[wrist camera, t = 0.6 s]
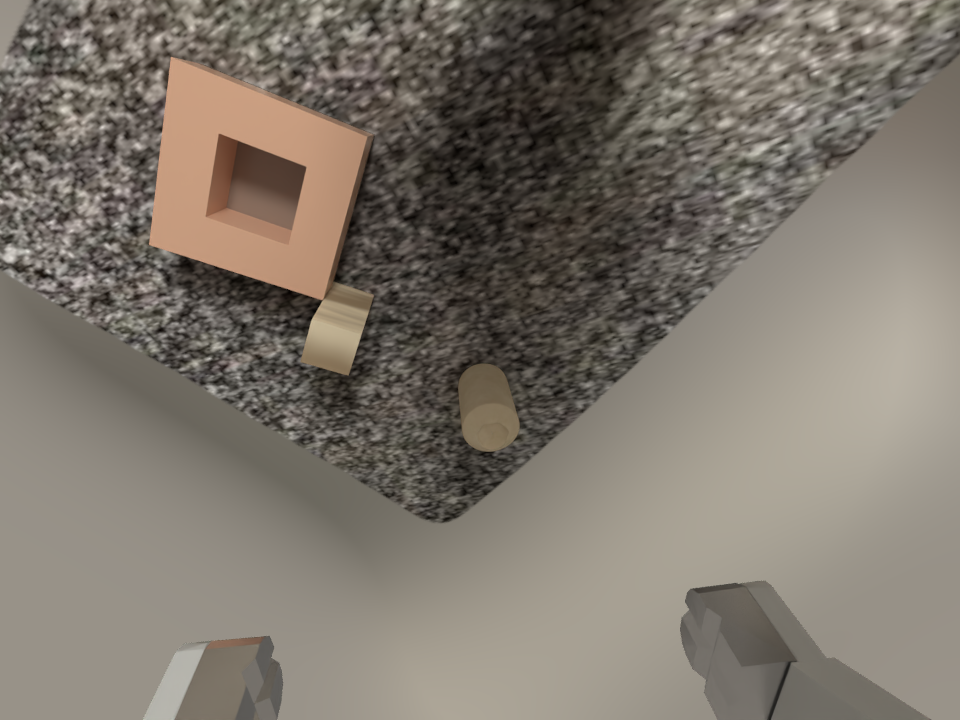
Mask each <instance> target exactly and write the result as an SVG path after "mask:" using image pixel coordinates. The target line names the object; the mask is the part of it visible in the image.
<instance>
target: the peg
mask: <svg viewBox="0 0 960 720" xmlns="http://www.w3.org/2000/svg"><path fill="white" fill-rule="evenodd" d="M373 297H374V295H373V294H370V293H367V292H364V291H361V290H358V289H355V288H352V287H349V286H346V285H343V284H340V283H337V282H334V283H333V284H332V286H331V288H330V289H329V291H328V293H327V294H326V296H325V298H324V300H323V301H322V303H321V305H320V306H319V308H318V310H317V311H316V313H315V315H314V316H313V318H312V321H311V324H310V328H309V332H308V336H307V339H306V343H305V347H304V350H303V354H302V358H301V362H303V363H306V364H310V365H313V366H316V367H320V368H323V369H327V370H330V371H334V372H337V373H341V374H344V375H348V376H349V373H350V369H351V366H352V363H353V360H354V357H355V354H356V351H357V348H358V344H359V341H360V338H361V335H362V332H363V329H364V326H365V323H366V319H367V316H368V313H369V310H370V307H371V304H372V300H373Z"/></svg>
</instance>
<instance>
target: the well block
mask: <svg viewBox="0 0 960 720" xmlns="http://www.w3.org/2000/svg"><path fill="white" fill-rule="evenodd" d="M374 135H375V134H372V133H370V132H367V131H365V130H362V129H360V128H358V127H355V126H353V125H350V124H348V123H345V122H343V121H340V120H338V119H336V118H333V117H331V116H328V115H326V114H323V113H321V112H318V111H316V110H314V109H311V108H309V107H306V106H304V105H301V104H299V103H296V102H294V101H291V100H289V99H287V98H284V97H282V96H279V95H277V94H274V93H272V92H269V91H267V90H265V89H262V88H260V87H257V86H255V85H252V84H250V83H247V82H245V81H243V80H240V79H238V78H235V77H233V76H230V75H228V74H225V73H223V72H221V71H218V70H216V69H213V68H211V67H208V66H206V65H203V64H199V63H195V62H190V61H186V60H182V59H177V58H173V57H171V63H170V71H169V80H168V88H167V97H166V106H165V114H164V123H163V131H162V140H161V148H160V157H159V165H158V174H157V183H156V191H155V200H154V208H153V217H152V225H151V234H150V243H149V245H151V246H154V247H157V248H161V249H164V250H167V251H170V252H173V253H176V254H179V255H182V256H186V257H189V258H192V259H195V260H198V261H201V262H204V263H207V264H211V265H214V266H217V267H220V268H223V269H226V270H229V271H232V272H236V273H239V274H242V275H245V276H248V277H251V278H254V279H257V280H261V281H264V282H267V283H270V284H273V285H276V286H279V287H282V288H286V289H289V290H292V291H295V292H298V293H301V294H304V295H307V296H311V297H314V298H317V299H320V300H323V299H324V298H325V296H326V294H327V293H328V291H329V289H330V288H331V286H332V284H333V283H334V280H335V276H336V273H337V269H338V265H339V262H340V258H341V255H342V251H343V247H344V244H345V240H346V237H347V233H348V229H349V226H350V222H351V218H352V215H353V211H354V208H355V204H356V200H357V197H358V193H359V190H360V186H361V182H362V179H363V175H364V172H365V168H366V164H367V161H368V157H369V153H370V150H371V146H372V143H373V139H374Z"/></svg>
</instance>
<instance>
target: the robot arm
mask: <svg viewBox="0 0 960 720" xmlns="http://www.w3.org/2000/svg"><path fill="white" fill-rule="evenodd" d="M685 603H686V604H687V606H688V608H689V611H688V612H687V613H686V614H685V615H684V616H683V617H682V620H681V627H680V632H681V638H682V644H683V647H684V650H685V653H686V656H687V658H688V660H689V662H690V665H691V666H692V669H693V670H695V671H696V672H697V673H698V674H700V675H701V676H702V677H703V678H705V679H706V685H705V691H704V693H705V695H706V697H707V699H708V701H709V703H710V705H711V707H712V709H713V711H714V713H715V715H716V717H717V719H718V720H931V719H929V718H927V717H926V716H925V715H923V714H922V713H920V712H918V711H917V710H915V709H914V708H912V707H911V706H909V705H907V704H906V703H904V702H903V701H901V700H900V699H898V698H896V697H895V696H893V695H892V694H890V693H889V692H887V691H886V690H884V689H882V688H881V687H879V686H878V685H876V684H875V683H873V682H872V681H870V680H868V679H867V678H865V677H864V676H862V675H861V674H859V673H858V672H856V671H854V670H853V669H851V668H850V667H848V666H847V665H845V664H843V663H842V662H840V661H839V660H837V659H836V658H826V656H825V655H824V654H823V653H822V651H821V650H820V649H819V647H818V646H817V645H816V644H815V642H814V641H813V640H812V638H811V637H810V636H809V634H808V633H807V632H806V630H805V629H804V628H803V627H802V625H801V624H800V622H799V621H798V620H797V618H796V617H795V616H794V615H793V613H792V612H791V611H790V609H789V608H788V607H787V605H786V604H785V603H784V601H783V600H782V599H781V598H780V596H779V595H778V594H777V592H776V591H775V590H774V588H773V587H772V586H771V585H770V584H769V583H767V582H766V581H755V582H747V583H740V584H738V583H732V584H724V585H716V586H710V587H709V586H708V587H701V588H693V589H690V590H689V591H688V592H687V595H686V599H685ZM273 650H274V646H273V643H272V641H271V638H270V636H264V637H254V638H253V637H252V638H241V639H229V640H217V641H205V642H196V643H186V644H183V645H182V646H181V647H180V648H179V649H178V651H177V652H176V653H175V654H174V656H173V658H172V660H171V662H170V665H169V667H168V668H167V671H166V673H165V675H164V677H163V679H162V681H161V683H160V685H159V687H158V689H157V691H156V693H155V695H154V697H153V699H152V701H151V703H150V705H149V707H148V710H147V712H146V714H145V716H144V718H143V720H277V717H278V713H279V709H280V705H281V699H282V689H283V679H282V670H281V667H280V664H279V663H278V662H277V661H275V660H274V659H272V658H271V657H272V653H273Z"/></svg>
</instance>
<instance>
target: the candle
mask: <svg viewBox="0 0 960 720" xmlns="http://www.w3.org/2000/svg"><path fill="white" fill-rule="evenodd" d="M458 394H459V404H460V415H461V425H462V433H463V437H464V439H465V440H466V442H467V443H468V444H469V445H470V446H472V447H473V448H475V449H477V450H480V451H486V452H491V451H498V450H501V449H503V448H505V447H507V446H508V445H510V444H511V443H512V442H513V441H514V440H515V438H516V437H517V435H518V432H519V419H518V416H517V412H516V409H515V405H514V402H513V398H512V395H511V391H510V388H509V384H508V381H507V378H506V376H505V374H504V373H503V372H502V370H501V369H499V368H498V367H496V366H494V365H492V364H487V363H481V364H476V365H473V366H471V367H469V368H468V369H466V370H465V371H464V372H463V374H462V375H461V377H460V379H459V383H458Z"/></svg>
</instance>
